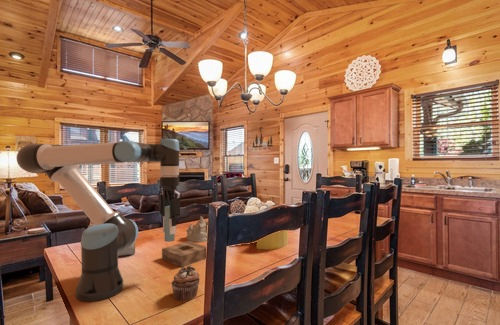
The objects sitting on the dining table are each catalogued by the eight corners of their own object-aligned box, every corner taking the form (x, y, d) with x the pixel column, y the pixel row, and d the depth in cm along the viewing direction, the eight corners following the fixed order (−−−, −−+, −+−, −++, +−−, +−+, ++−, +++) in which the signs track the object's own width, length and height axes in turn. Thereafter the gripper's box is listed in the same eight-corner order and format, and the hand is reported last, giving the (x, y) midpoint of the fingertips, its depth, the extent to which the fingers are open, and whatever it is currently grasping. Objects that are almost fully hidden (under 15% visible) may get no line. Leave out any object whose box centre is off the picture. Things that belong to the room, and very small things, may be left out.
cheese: (240, 248, 144) (240, 221, 144) (246, 235, 170) (246, 212, 170) (288, 250, 141) (288, 222, 141) (287, 236, 167) (287, 212, 167)
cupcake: (190, 286, 101) (190, 260, 101) (204, 295, 94) (204, 267, 94) (166, 295, 94) (166, 267, 94) (179, 305, 87) (179, 275, 87)
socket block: (181, 267, 119) (181, 256, 119) (162, 258, 129) (161, 248, 129) (208, 257, 131) (208, 247, 131) (189, 250, 141) (189, 241, 141)
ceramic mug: (135, 255, 134) (135, 240, 134) (117, 258, 130) (117, 242, 130) (134, 249, 143) (134, 235, 143) (117, 252, 139) (117, 237, 139)
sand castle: (219, 238, 163) (218, 213, 164) (196, 244, 152) (194, 218, 153) (206, 234, 175) (204, 211, 175) (183, 240, 164) (181, 216, 164)
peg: (167, 242, 107) (168, 207, 107) (162, 240, 110) (162, 206, 110) (176, 240, 110) (176, 206, 110) (171, 238, 113) (171, 205, 113)
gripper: (189, 176, 107) (189, 234, 107) (166, 175, 118) (166, 227, 118) (173, 177, 101) (173, 238, 102) (150, 175, 113) (150, 230, 113)
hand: (169, 232), depth 110 cm, fingers closed on peg, 4 cm apart
